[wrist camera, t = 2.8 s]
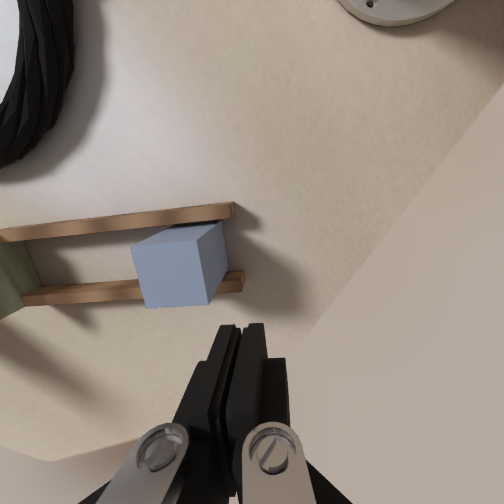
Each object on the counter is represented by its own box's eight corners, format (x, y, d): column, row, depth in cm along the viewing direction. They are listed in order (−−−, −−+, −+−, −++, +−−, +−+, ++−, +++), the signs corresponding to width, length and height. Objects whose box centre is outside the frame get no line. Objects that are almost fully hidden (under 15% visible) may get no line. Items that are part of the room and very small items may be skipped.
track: (233, 201, 25) (219, 209, 19) (244, 281, 27) (235, 310, 21) (9, 227, 28) (-61, 241, 22) (36, 296, 30) (-21, 325, 25)
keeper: (221, 220, 25) (196, 240, 18) (228, 267, 27) (208, 304, 19) (173, 225, 26) (129, 246, 18) (183, 271, 27) (146, 308, 20)
